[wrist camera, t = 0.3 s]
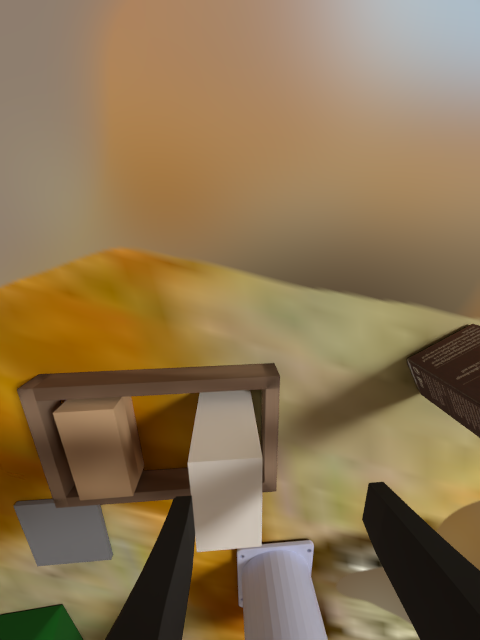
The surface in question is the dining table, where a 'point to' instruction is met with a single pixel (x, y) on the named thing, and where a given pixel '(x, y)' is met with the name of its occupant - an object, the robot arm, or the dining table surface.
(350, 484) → the dining table surface
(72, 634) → the milk carton
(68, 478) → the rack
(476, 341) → the box
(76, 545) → the mat
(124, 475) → the tan rectangular block
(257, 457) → the cream rectangular prism
